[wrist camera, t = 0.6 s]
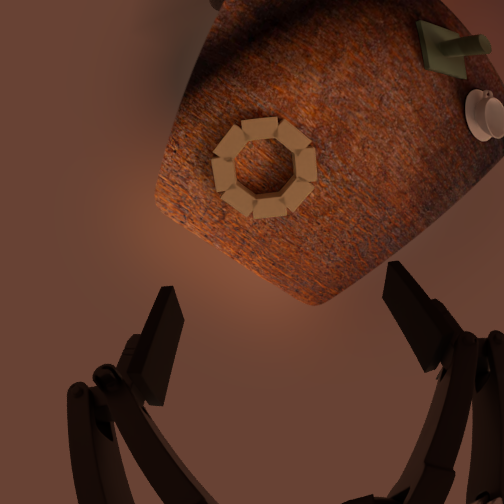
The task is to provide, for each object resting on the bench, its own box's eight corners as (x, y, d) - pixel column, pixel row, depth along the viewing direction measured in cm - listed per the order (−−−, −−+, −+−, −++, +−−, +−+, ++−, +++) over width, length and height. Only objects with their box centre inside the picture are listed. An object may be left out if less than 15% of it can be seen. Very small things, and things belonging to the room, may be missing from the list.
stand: (415, 22, 24) (457, 6, 14) (453, 34, 24) (496, 27, 13) (424, 69, 28) (471, 64, 18) (461, 79, 28) (507, 80, 17)
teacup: (494, 142, 32) (510, 147, 28) (465, 139, 33) (482, 143, 29) (491, 93, 28) (508, 95, 23) (460, 85, 28) (477, 85, 24)
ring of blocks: (208, 125, 34) (205, 125, 31) (307, 114, 33) (312, 114, 31) (223, 216, 40) (221, 223, 38) (314, 206, 39) (318, 212, 37)
